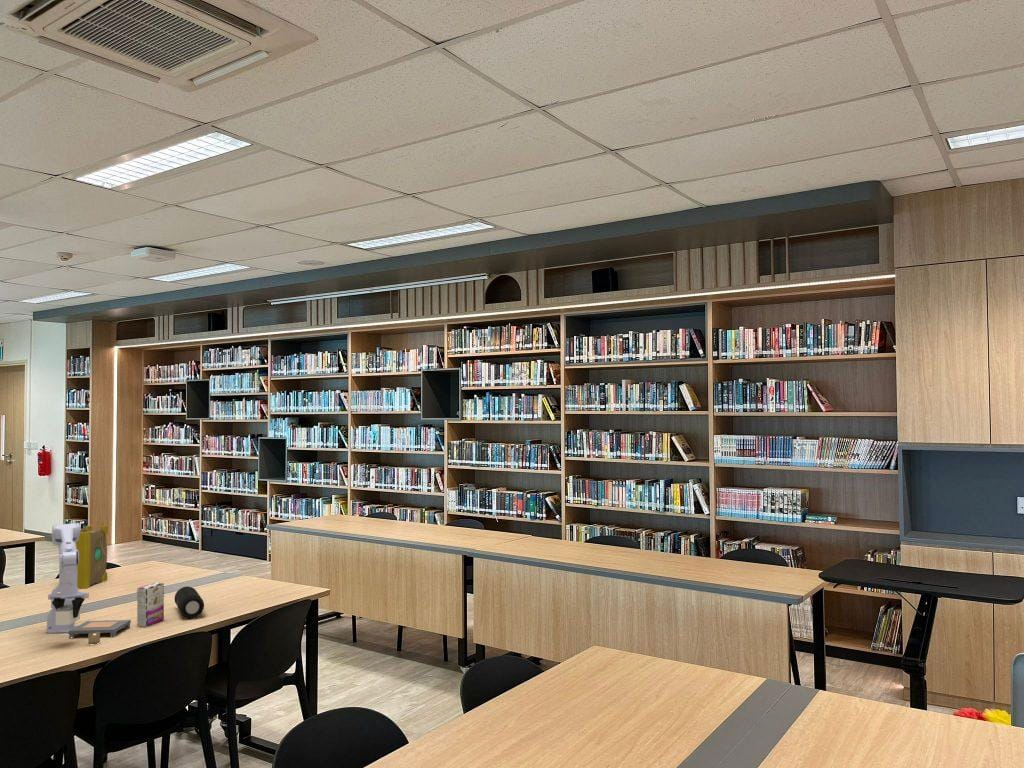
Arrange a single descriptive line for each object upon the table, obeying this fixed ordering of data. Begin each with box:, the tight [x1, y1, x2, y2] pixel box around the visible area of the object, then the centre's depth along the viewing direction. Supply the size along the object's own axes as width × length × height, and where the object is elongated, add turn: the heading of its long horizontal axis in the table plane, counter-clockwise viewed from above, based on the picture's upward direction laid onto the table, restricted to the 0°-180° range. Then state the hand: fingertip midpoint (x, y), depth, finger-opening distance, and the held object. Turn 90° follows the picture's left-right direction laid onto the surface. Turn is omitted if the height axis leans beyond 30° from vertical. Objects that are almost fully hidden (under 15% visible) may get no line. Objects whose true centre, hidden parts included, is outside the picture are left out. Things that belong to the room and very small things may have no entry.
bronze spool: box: [87, 632, 101, 645], centre depth 287 cm, size 4×4×4 cm
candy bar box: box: [136, 581, 165, 628], centre depth 314 cm, size 11×5×16 cm, turn 168°
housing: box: [56, 604, 81, 625], centre depth 286 cm, size 5×8×6 cm, turn 3°
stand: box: [68, 619, 132, 639], centre depth 301 cm, size 18×14×3 cm
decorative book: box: [76, 525, 109, 589], centre depth 392 cm, size 20×11×30 cm, turn 0°
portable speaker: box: [174, 585, 205, 619], centre depth 331 cm, size 26×10×10 cm, turn 31°
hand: (68, 617), depth 286 cm, fingers closed on housing, 5 cm apart
